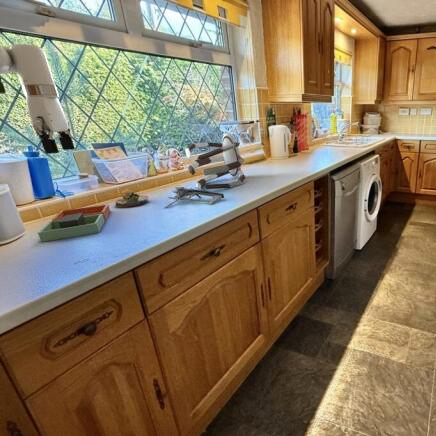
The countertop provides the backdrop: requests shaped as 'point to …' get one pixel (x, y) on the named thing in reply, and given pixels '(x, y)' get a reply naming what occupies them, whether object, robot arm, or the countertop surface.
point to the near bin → (71, 228)
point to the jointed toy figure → (229, 157)
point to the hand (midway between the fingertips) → (61, 151)
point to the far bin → (85, 211)
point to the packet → (72, 220)
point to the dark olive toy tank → (130, 199)
